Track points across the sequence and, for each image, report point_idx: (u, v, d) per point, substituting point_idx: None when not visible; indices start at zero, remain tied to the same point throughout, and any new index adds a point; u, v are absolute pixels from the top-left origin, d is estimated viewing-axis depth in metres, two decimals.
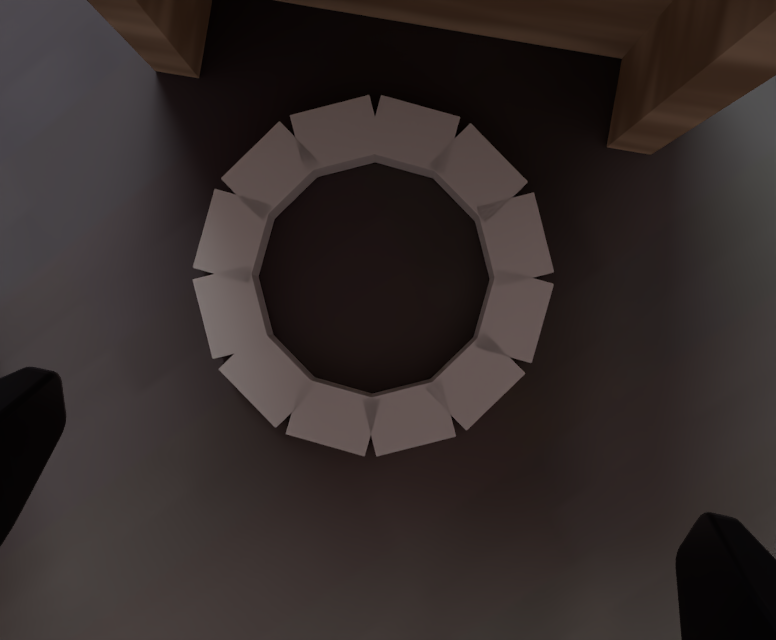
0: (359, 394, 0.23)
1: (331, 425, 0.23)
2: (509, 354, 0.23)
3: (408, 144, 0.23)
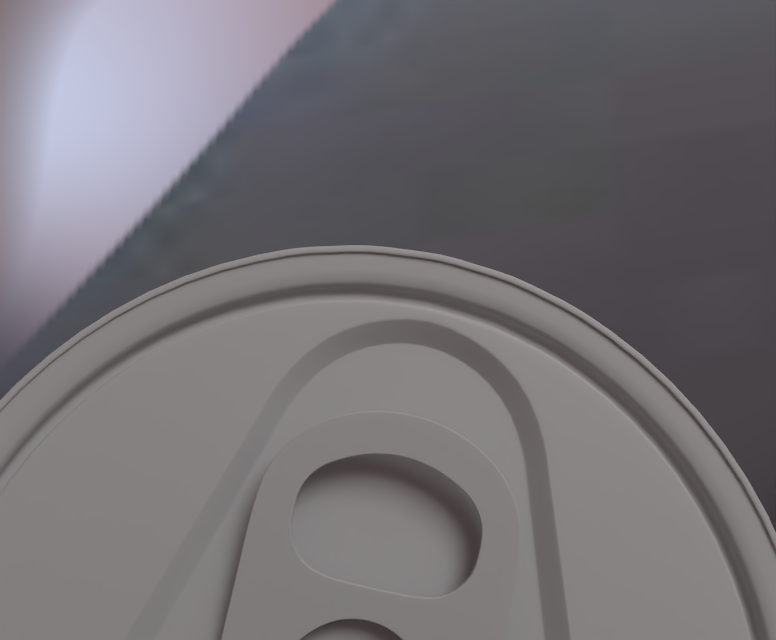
0: None
1: None
2: None
3: None
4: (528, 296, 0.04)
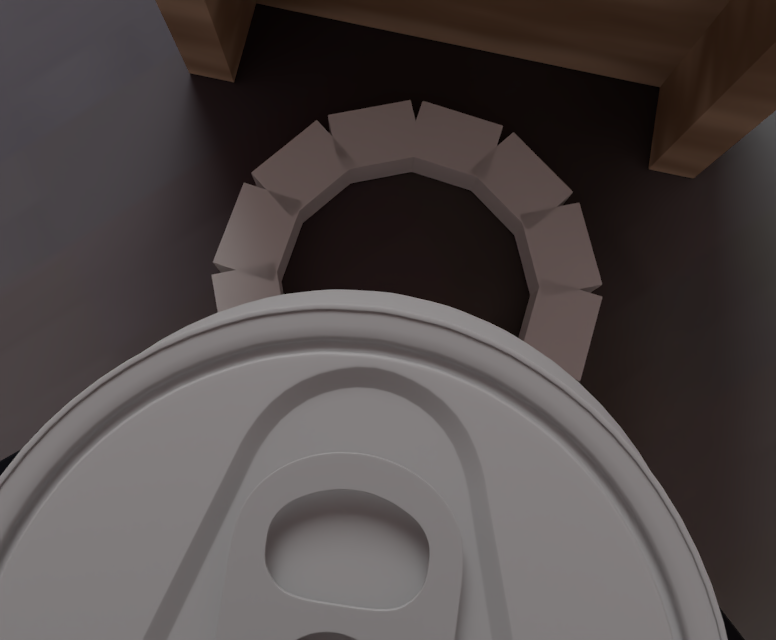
0: None
1: None
2: None
3: (449, 149, 0.22)
4: (462, 338, 0.05)
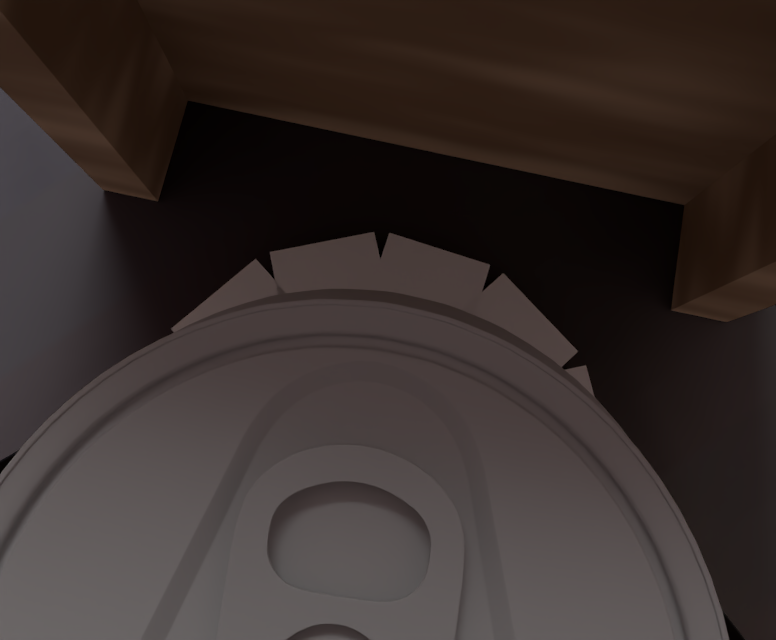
0: None
1: None
2: None
3: (422, 296, 0.17)
4: (463, 332, 0.05)
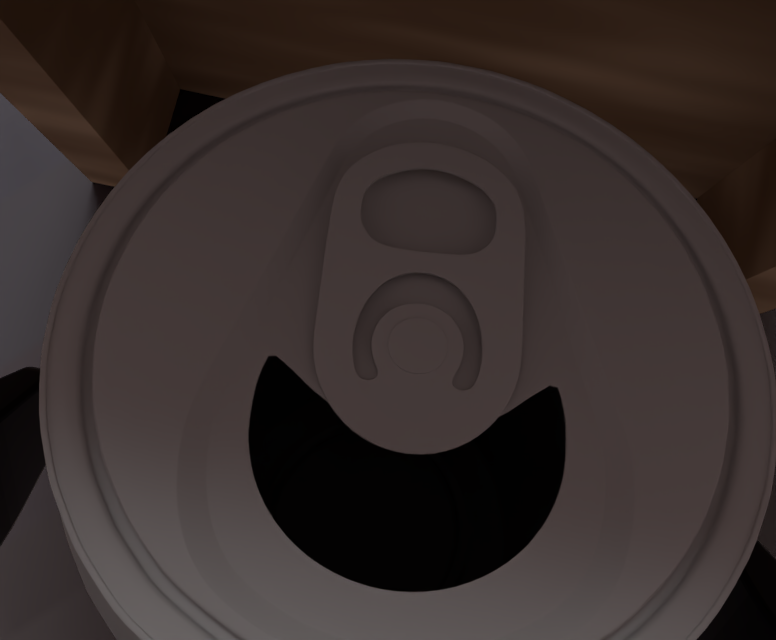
0: None
1: None
2: None
3: None
4: (503, 82, 0.06)
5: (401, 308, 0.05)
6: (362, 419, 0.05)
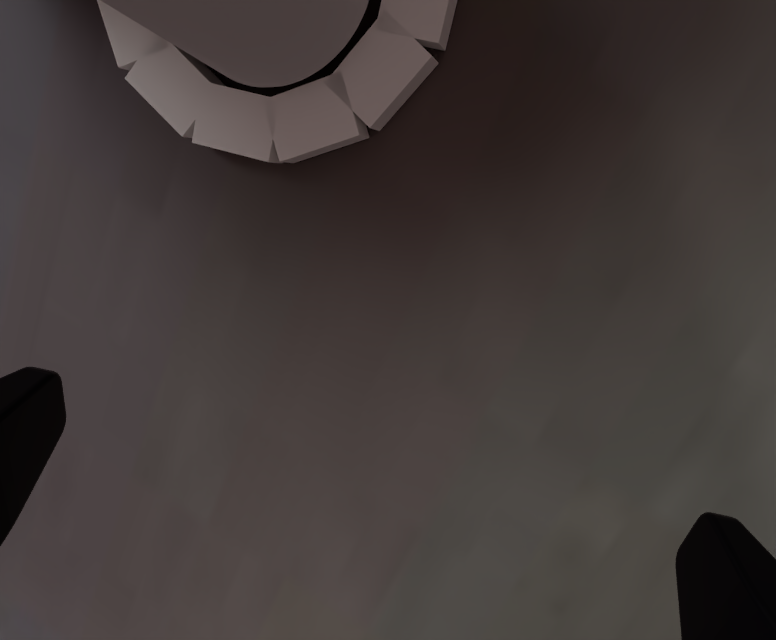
0: (319, 79, 0.21)
1: (312, 126, 0.21)
2: None
3: None
4: None
5: None
6: None
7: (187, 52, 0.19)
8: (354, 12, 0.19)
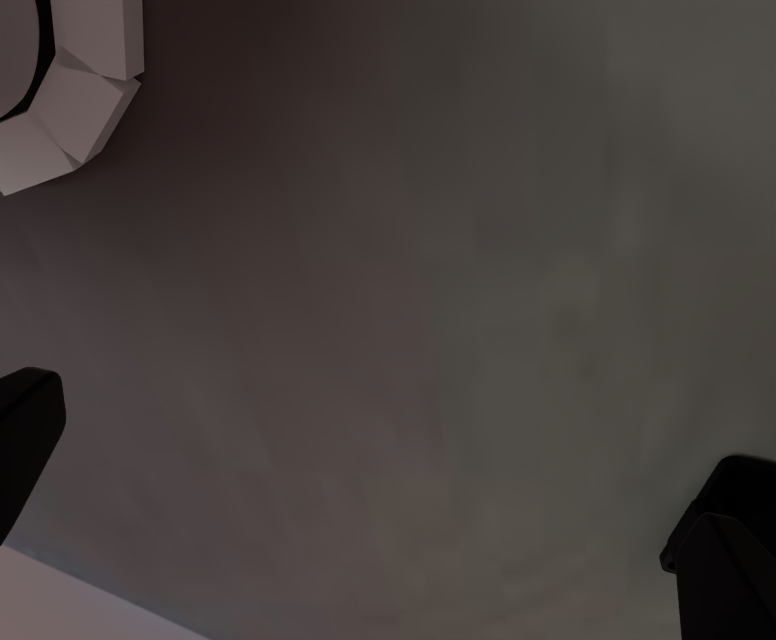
0: (51, 65, 0.19)
1: (80, 113, 0.19)
2: None
3: None
4: None
5: None
6: None
7: None
8: None
